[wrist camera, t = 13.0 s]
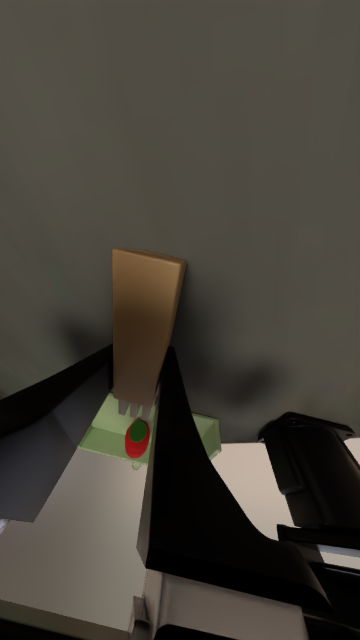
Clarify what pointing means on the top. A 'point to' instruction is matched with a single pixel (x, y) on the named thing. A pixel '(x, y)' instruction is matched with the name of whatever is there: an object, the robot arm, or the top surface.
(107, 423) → the tray
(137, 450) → the strawberry
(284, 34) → the top surface
